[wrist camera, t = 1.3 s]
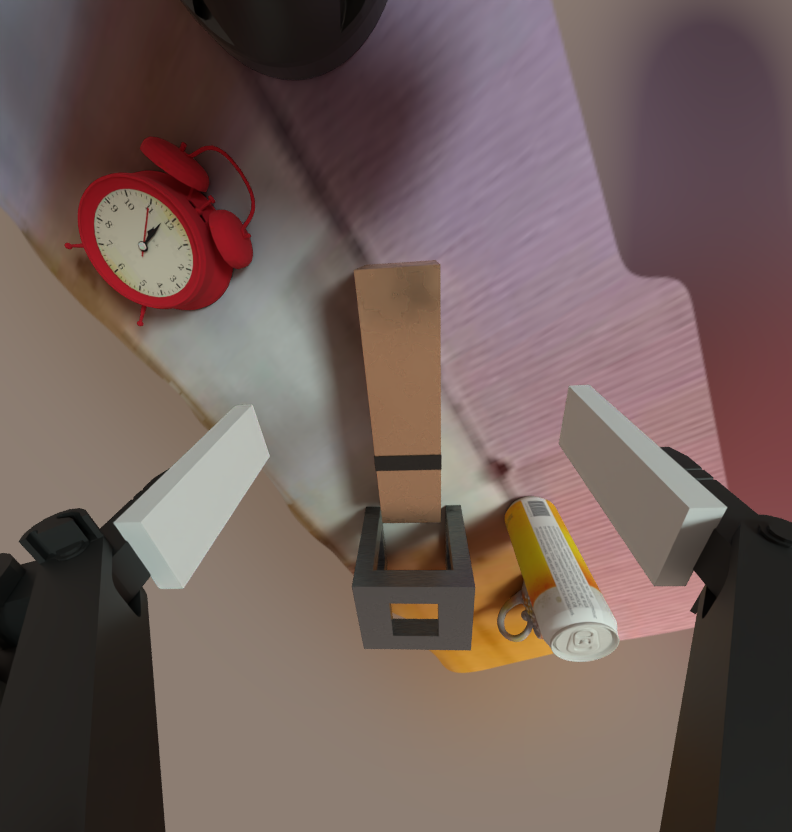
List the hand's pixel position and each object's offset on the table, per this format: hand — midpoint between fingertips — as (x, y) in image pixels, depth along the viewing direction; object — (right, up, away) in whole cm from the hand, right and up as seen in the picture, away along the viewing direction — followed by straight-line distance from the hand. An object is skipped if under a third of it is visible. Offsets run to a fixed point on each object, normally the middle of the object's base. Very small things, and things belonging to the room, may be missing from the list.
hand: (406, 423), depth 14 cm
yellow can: (+16, -11, +26) cm, 33 cm away
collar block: (+2, -15, +29) cm, 33 cm away
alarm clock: (-18, +16, +14) cm, 28 cm away
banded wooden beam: (+1, +3, +20) cm, 20 cm away
